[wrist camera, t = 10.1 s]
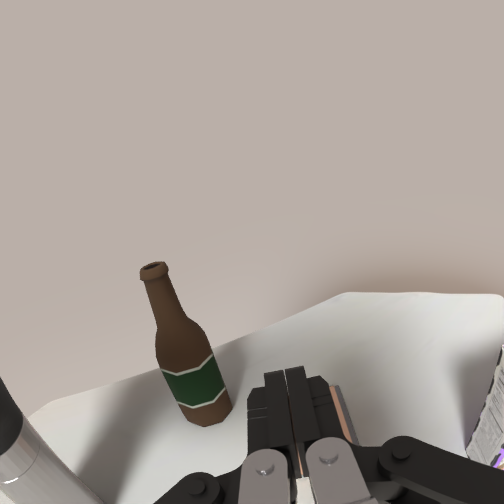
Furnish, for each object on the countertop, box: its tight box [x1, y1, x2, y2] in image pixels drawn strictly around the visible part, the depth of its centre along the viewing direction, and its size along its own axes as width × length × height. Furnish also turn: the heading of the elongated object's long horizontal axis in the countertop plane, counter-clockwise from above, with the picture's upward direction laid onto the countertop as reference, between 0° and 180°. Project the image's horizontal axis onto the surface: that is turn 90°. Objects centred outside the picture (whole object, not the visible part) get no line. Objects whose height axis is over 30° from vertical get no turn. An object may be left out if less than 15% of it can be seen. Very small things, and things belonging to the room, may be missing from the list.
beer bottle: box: [140, 262, 232, 427], centre depth 39 cm, size 8×8×24 cm
